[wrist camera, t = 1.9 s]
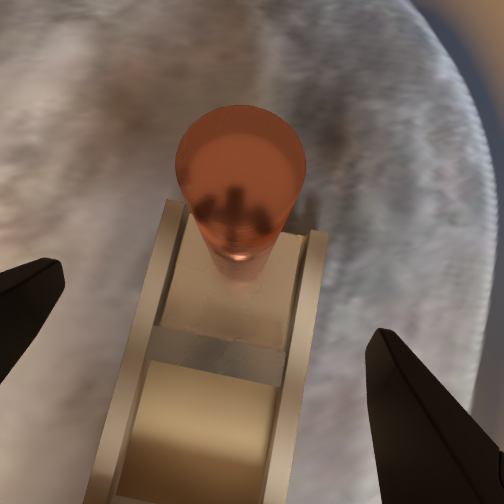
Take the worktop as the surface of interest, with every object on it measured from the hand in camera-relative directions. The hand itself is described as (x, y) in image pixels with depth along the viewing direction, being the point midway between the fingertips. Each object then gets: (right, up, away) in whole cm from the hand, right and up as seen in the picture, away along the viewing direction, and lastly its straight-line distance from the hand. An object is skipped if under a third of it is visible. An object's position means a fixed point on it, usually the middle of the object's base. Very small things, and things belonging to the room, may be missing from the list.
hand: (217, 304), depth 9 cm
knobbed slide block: (0, -1, +9) cm, 9 cm away
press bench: (-1, -6, +10) cm, 11 cm away
